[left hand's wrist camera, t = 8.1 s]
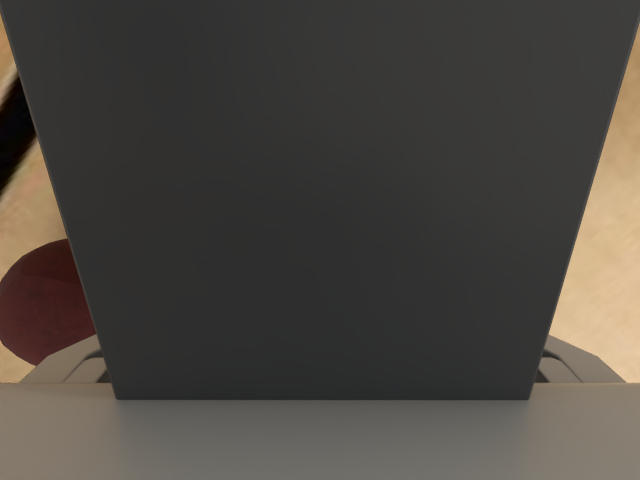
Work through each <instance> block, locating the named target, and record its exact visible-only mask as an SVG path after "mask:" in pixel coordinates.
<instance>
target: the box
mask: <svg viewBox="0 0 640 480" xmlns="http://www.w3.org/2000/svg"><path fill="white" fill-rule="evenodd" d="M0 13H1V17H2V20H3V23H4V27H5V30H6V33H7V37H8V40H9V43H10V47H11V50H12V53H13V57H14V60H15V63H16V67H17V70H18V73H19V77H20V80H21V84H22V87H23V90H24V94H25V97H26V100H27V104H28V107H29V110H30V114H31V117H32V120H33V124H34V127H35V130H36V134H37V137H38V140H39V144H40V147H41V150H42V154H43V157H44V161H45V164H46V167H47V171H48V174H49V177H50V181H51V184H52V187H53V191H54V194H55V197H56V201H57V204H58V207H59V211H60V214H61V217H62V221H63V224H64V227H65V231H66V234H67V238H68V241H69V244H70V248H71V251H72V254H73V258H74V261H75V264H76V268H77V271H78V274H79V278H80V281H81V284H82V288H83V291H84V294H85V298H86V301H87V304H88V308H89V311H90V315H91V318H92V321H93V325H94V328H95V331H96V335H97V338H98V341H99V345H100V348H101V351H102V355H103V358H104V361H105V365H106V368H107V371H108V375H109V378H110V381H111V385H112V388H113V392H114V395H115V398H116V399H117V400H528V399H530V395H531V392H532V389H533V385H534V382H535V378H536V375H537V371H538V368H539V365H540V361H541V358H542V354H543V351H544V347H545V344H546V341H547V337H548V334H549V330H550V327H551V323H552V320H553V317H554V313H555V310H556V306H557V303H558V300H559V296H560V293H561V289H562V286H563V282H564V279H565V276H566V272H567V269H568V265H569V262H570V258H571V255H572V252H573V248H574V245H575V241H576V238H577V234H578V231H579V228H580V224H581V221H582V217H583V214H584V210H585V207H586V204H587V200H588V197H589V193H590V190H591V187H592V183H593V180H594V176H595V173H596V169H597V166H598V163H599V159H600V156H601V152H602V149H603V145H604V142H605V139H606V135H607V132H608V128H609V125H610V121H611V118H612V115H613V111H614V108H615V104H616V101H617V97H618V94H619V91H620V87H621V84H622V80H623V77H624V73H625V70H626V67H627V63H628V60H629V56H630V53H631V50H632V46H633V43H634V39H635V36H636V32H637V29H638V26H639V22H640V0H0Z"/></svg>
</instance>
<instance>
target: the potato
mask: <svg viewBox="0 0 640 480" xmlns="http://www.w3.org/2000/svg"><path fill="white" fill-rule="evenodd" d="M95 334H96V331H95V328H94V325H93V321H92V318H91V315H90V311H89V308H88V304H87V301H86V298H85V294H84V291H83V288H82V284H81V281H80V278H79V274H78V271H77V268H76V264H75V261H74V258H73V254H72V251H71V248H70V244H69V241H68V238H67V239H63V240H58V241H54V242H50V243H48V244H46V245H43V246H41V247H39V248H37V249H35V250H33V251H31V252H29V253H28V254H26V255H24V256H22V257H21V258H20V259H19V260H18V261H17V262H16V263H15V264H14V265H13V266H12V267H11V268H10V269H9V270H8V272H7V273H6V275H5V276H4V277H3V279H2V280H1V282H0V340H1V342H2V344H3V345H4V346H5V347H6V348H8V349H9V350H10V351H11V352H13V353H14V354H15V355H16V356H18V357H19V358H21V359H23V360H25V361H27V362H28V363H30V364H32V365H35V366H38V365H39V364H40V363H41V362H42V361H43V360H44V359H45V358H46V357H47V356H49V355H51V354H54V353H56V352H58V351H60V350H62V349H65V348H67V347H69V346H71V345H73V344H76V343H78V342H80V341H82V340H84V339H87V338H89V337H91V336H93V335H95Z"/></svg>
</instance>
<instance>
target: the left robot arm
mask: <svg viewBox="0 0 640 480" xmlns="http://www.w3.org/2000/svg"><path fill="white" fill-rule="evenodd" d="M0 480H640V383H627V382H625V381H624V380H623V379H622V378H621V377H620V376H619V375H618V374H616V373H615V372H614V371H613V370H612V369H611V368H610V367H609V366H608V365H606V364H605V363H604V362H603V361H602V360H601V359H600V358H599V357H597V356H595V355H593V354H591V353H589V352H586V351H584V350H582V349H580V348H578V347H575V346H573V345H571V344H569V343H566V342H564V341H562V340H560V339H558V338H555V337H553V336H551V335H549V334H548V337H547V341H546V344H545V347H544V351H543V354H542V358H541V361H540V365H539V368H538V371H537V375H536V378H535V382H534V385H533V389H532V392H531V395H530V399H528V400H117V399H116V398H115V395H114V392H113V388H112V385H111V381H110V378H109V375H108V371H107V368H106V365H105V361H104V358H103V355H102V351H101V348H100V345H99V341H98V338H97V335H96V334H95V335H93V336H91V337H89V338H87V339H84V340H82V341H80V342H78V343H76V344H73V345H71V346H69V347H67V348H65V349H62V350H60V351H58V352H56V353H54V354H51V355H49V356H47V357H46V358H45V359H44V360H43V361H42V362H41V363H40V364H39V365H38V366H36V367H35V368H34V369H33V370H32V371H31V372H30V373H29V374H28V375H27V376H25V377H24V378H23V379H22V380H21V381H20V382H19V383H0Z"/></svg>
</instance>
